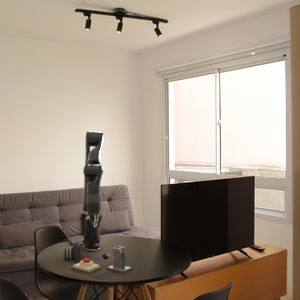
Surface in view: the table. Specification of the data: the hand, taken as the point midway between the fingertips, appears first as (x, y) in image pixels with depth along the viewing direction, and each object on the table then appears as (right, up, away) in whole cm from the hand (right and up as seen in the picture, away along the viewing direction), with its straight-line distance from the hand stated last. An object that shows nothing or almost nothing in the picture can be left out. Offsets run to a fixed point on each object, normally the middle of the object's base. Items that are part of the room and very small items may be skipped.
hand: (93, 234), depth 206 cm
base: (+13, -18, -4) cm, 23 cm away
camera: (-11, -18, +16) cm, 27 cm away
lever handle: (+10, -12, -1) cm, 16 cm away
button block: (-4, -18, -2) cm, 19 cm away
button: (-4, -15, -2) cm, 15 cm away
